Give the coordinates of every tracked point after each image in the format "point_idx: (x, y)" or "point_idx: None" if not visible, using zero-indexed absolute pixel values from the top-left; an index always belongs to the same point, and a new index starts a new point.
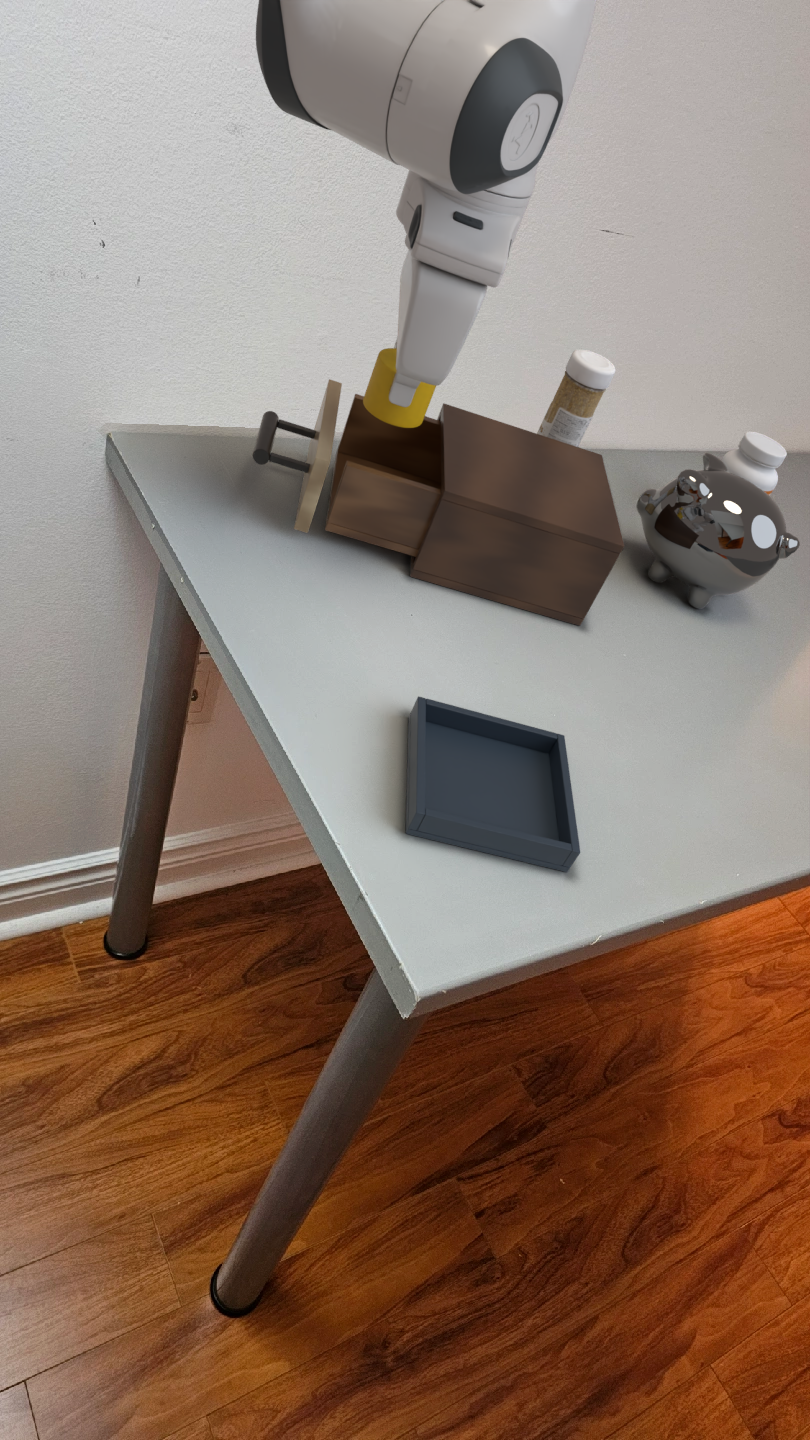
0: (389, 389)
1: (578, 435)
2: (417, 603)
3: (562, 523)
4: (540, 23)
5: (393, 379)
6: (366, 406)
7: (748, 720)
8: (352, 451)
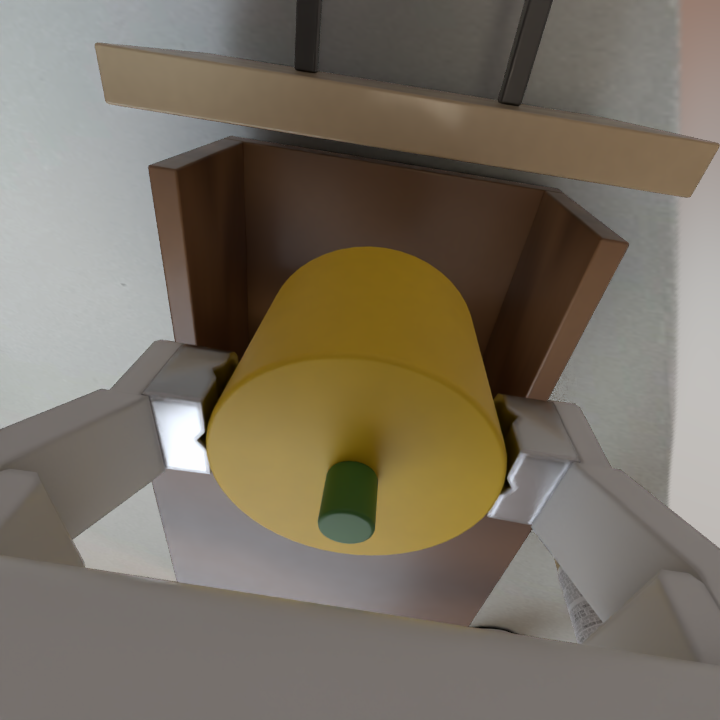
0: (224, 354)
1: (573, 627)
2: (159, 298)
3: (181, 559)
4: None
5: (181, 386)
6: (328, 255)
7: (172, 572)
8: (535, 228)
